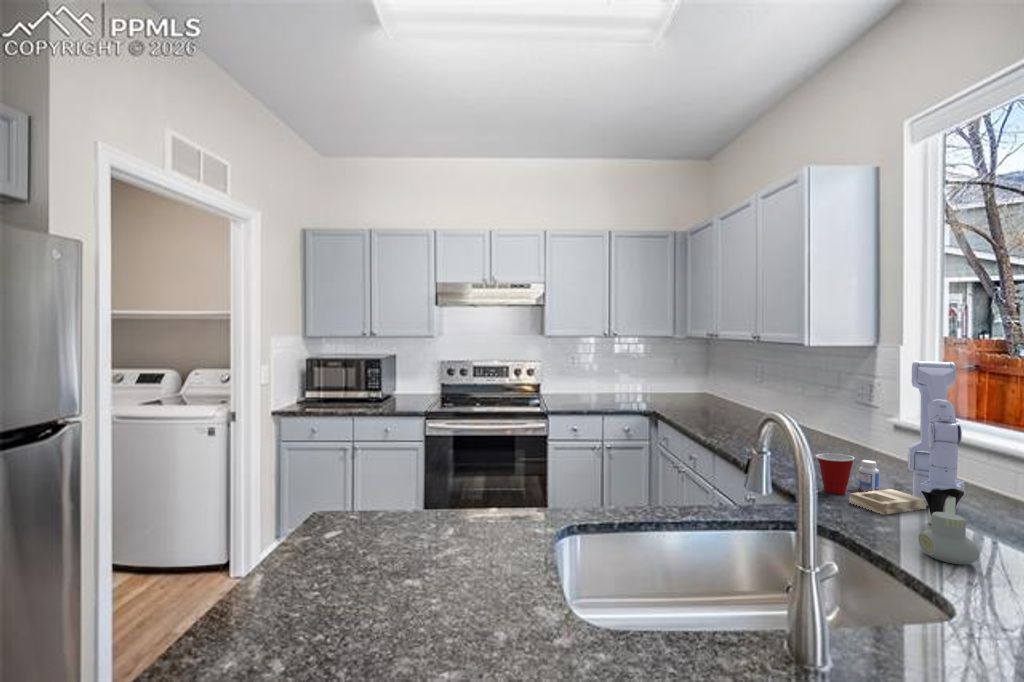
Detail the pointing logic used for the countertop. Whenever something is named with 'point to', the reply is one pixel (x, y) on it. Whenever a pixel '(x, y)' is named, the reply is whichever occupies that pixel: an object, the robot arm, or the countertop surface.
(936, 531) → the air freshener
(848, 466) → the plastic cup
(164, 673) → the countertop surface
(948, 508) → the square peg
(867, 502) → the socket rail
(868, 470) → the pill bottle
